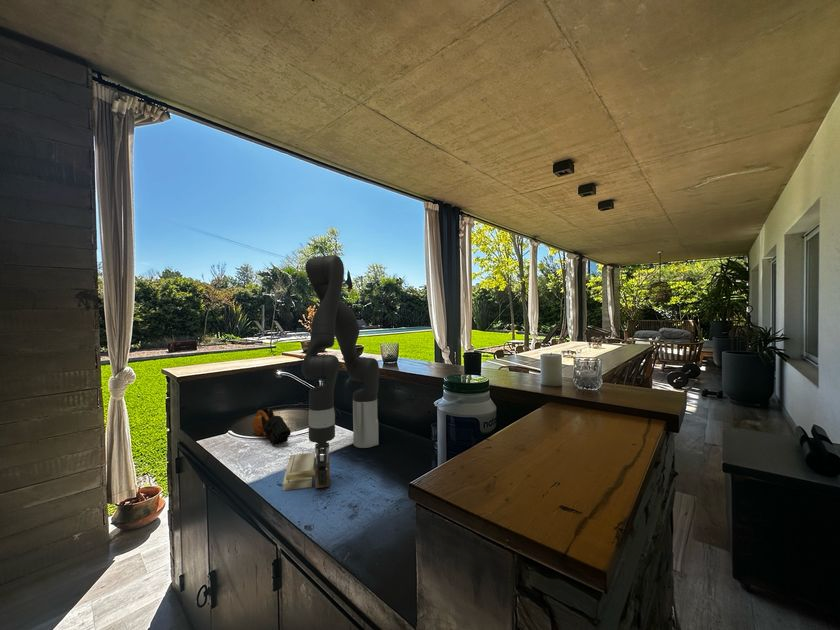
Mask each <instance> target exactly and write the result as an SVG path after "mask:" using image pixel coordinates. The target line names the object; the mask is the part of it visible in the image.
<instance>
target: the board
mask: <svg viewBox="0 0 840 630" xmlns="http://www.w3.org/2000/svg"><path fill="white" fill-rule="evenodd" d="M315 459H316V453H315V451H314V452H306V453H299V454H290V455H289V458H288V462H287V465H286V469H285V473H284V477H283V480H282V481H283V482H282V491H283V492H284V491H291V490H298V489H304V488H312V486H313V479H314V477H309V478H302V479H294V480H286V475H287V473H294V472H302V471H310V470H315Z"/></svg>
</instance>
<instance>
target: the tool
mask: <svg viewBox="0 0 840 630" xmlns="http://www.w3.org/2000/svg"><path fill="white" fill-rule="evenodd" d="M251 422H252V423H251V424H252V429H253V432H254V433H255V435H257V436H261V435H262V434H263V437H264V438H265V439H267V440H268V441H269V442H270V444H271V445H272V446H278V445H281V444H284V443H287V442H288V441H289V437H290V436H291V432H292V431H291V429H290V428H289V426H288V425H287V424H286V423H285V420H284V419H283V417H282V416H281V415H275V414H274V411H273V409H269V408H268V406H266V407H263V408H260V409H258V411H257V412H256V414H255V418H253V419H252V421H251Z"/></svg>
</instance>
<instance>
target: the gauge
mask: <svg viewBox="0 0 840 630" xmlns="http://www.w3.org/2000/svg"><path fill="white" fill-rule="evenodd" d="M330 460H331V459H330V454H328V463H327V472H326V484H325V485H319V484H318V472H317V470H318V468H317V464H316V458H315V460H314V470H310V471H302V472H294V473H287V475H286V480H294V479H302V478H309V477H313V478H315V479H314V480H315V483H314V484H315V489H319V488H321V489H322V488H326V487H327V488H329V487H330V486H331V484H330V483H331V482H330V481H331V469H330V468H331V467H330V466H331V465H330ZM324 467H325V466H320V468H324Z"/></svg>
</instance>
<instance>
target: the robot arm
mask: <svg viewBox="0 0 840 630" xmlns="http://www.w3.org/2000/svg"><path fill="white" fill-rule="evenodd" d="M305 273H306V276H307V279H308V281H309V283H310V285H311V287H312V289H313V291H314V292H315V295H316V297H317V298H318V300H319V302H320V304H319V306H318V307H317V309H316V310H315V312H314V314H313V317H312V320H311V325H310V326H311V327H310V340H309V344H308V348H307V351H306V354H305V355H304V359H303V361H302V364H301V373H302V375H303V377H304V378H305V379H306V380H326V381H325V383H324V384H322V385H318V386H314V387H312V388H311V389H309V392H308V415H307V416H308V417H307V418H308V420H307V421H308V440H309V441H310V442H311V443H315V444H314V445H315V447H314V452H315V459H316V464H317V468H318V470H317V472H318V484H319V485H325V484H326V472H327V463H328V455H329V453H330V441H332V440H334V439H335V437H336V412H335V400H334V399H335V388H336V387H335V386H336V383H337V378H338V375H339V370H340V367H341V366H340V360H339V358H338V357H337V356H336V355H334V354H319V352H321V351H323V350H326V349H330V348H333V347H334V345H335V340H336V341H337V344H338V347H339V349H340V351H341V354H342V358H343V361H344V364H345V368H346V371H347V373H348V376H349V378H350V380H352V381H355V382H363V388H360V389H357V390H355V391H353V394H352V422H353V423H352V424H353V425H352V426H353V428H352V429H353V431H352V433H353V434H352V437H353V439H352V440H353V442H352V445H353V446H354V447H355V448H359V449H366V448H372V447H375V446H378V445H379V419H378V392H379V381H380V380H379V378H380V377H379V376H380V365H379V361H378V360H377V359H376V358H374V357H363V356H361V357H360V355H359V354H358V351H357V347H356V346H357V341H358V338H359V336H360V335H359V334H360V331H361V330H360V326H359V325H360V324H359V322H358V320H357V316H356V314H355V312H354V310H353V309H352V308H351V307H350V306H349V305H348V304H346V303H345V302H344V301H342V300H341V294H342V290H343V283H344V278H345V266H344V262H343V260H342V258H341V257H340V256H339V255H336V254H328V255H322V256H317V257H312V258H309V259H307V261H306V262H305ZM335 338H336V339H335ZM320 466H325V467H324V468H320Z"/></svg>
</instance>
